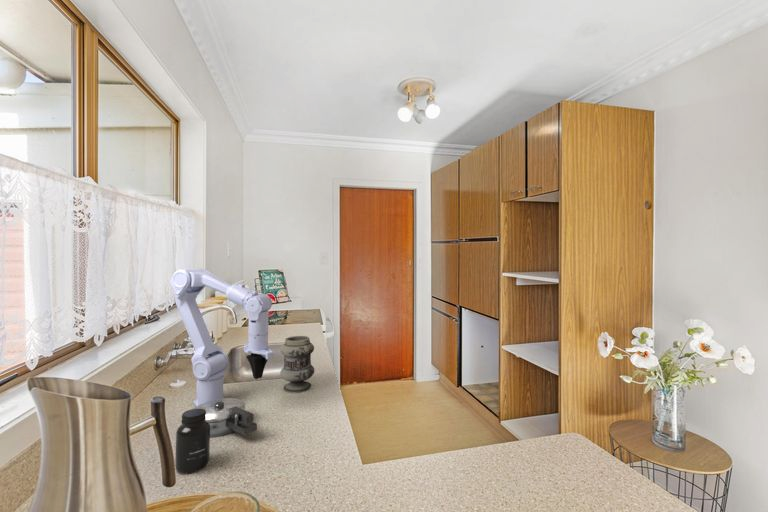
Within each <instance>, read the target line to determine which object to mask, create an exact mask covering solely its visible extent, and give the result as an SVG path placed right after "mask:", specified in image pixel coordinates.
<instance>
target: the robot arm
mask: <svg viewBox="0 0 768 512" xmlns="http://www.w3.org/2000/svg"><path fill="white" fill-rule="evenodd" d="M170 285H171V287H172V290H173V293H174V295H173V296H174V301H175V302H174V303H175V306H176V307H177V311H178V312H179V315H180V317H181V319H182V322H183V325H184V327H185V329H186V331H187V335H188V337H189V339H190V341H191V344H192V347H193V349H194V353H193V355H192V357H191V358H190V361H191V364H192V372H193V373H192V374H193V375H194V377H195V378H196V399H194V400H193V401H192V403H193V404H194V406H195V407H197V406H198V405H200V404H202V403H205V402H208V401H211V400H216V399H222V398H224V374H225V373H226V369H227V368H228V367H229V364H230V363H229V362H230V361H229V357H228V355H227V354H226V353H224V351H223V349H222V348H221V346H219V345H217V344H215V343H214V342H213V340H212V337H211V334H210V332H209V330H208V326H207V324H206V322H205V320H204V318H203V315H202V313H201V310H200V308H199V305H198V303H197V301H196V299H197V297H198V295H200V293H201V292H202V291H203V290H204V289H205V287H207V288H209V289H212V290H214V291H217V292H219V293H221V294H223V295H226V297H227V300H228V301H229V302H231V303H234V304H236V305H237V306H239V307H241V308H243V309H245V312H246V313H247V319H248V338H247V339H248V343H245V344H243V351H244V353H246V357H245V358H246V359H247V361H248V363H249V365H250V368H251V373H252V377H253V379H255V380H257V379H261V378H263V374H264V371H265V367H266V365H267V363H268V361H269V360H273V359H274V354H275V353H274V350H273V351H272V349H270V347H269V311H270V310H271V308H272V305H273V302H272V298H271V297H270V296H269V295H267V294H266V293H260V294H259V293H258V291H257V290H252V289H249V288H247V287H246V285H245V284H244V283H236V284H231V283H229V282H227V281H225V280H224V279H222V278H220V277H219V276H216V275H215V274H213V273H212V272H211V271H209V270H206V269H204V268H196V269H195V268H194V269H184V268H183V269H181V268H180V269H178V270H176V271H175V272H174V273H173V275H172V277H171V279H170ZM247 354H248V355H247Z"/></svg>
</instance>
